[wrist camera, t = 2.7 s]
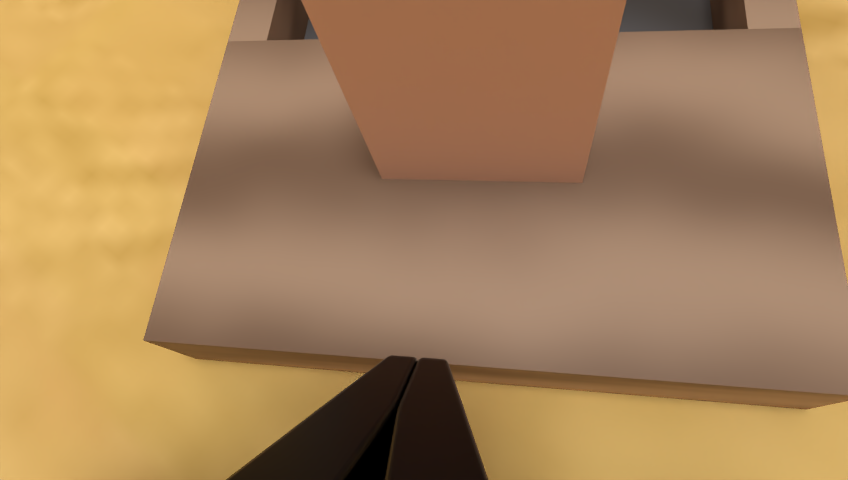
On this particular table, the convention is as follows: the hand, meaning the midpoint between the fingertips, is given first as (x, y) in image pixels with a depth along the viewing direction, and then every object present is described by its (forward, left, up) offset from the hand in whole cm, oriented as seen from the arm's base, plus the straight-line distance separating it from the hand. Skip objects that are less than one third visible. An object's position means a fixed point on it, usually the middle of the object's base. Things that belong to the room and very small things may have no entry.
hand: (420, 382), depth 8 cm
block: (+7, +8, -7) cm, 12 cm away
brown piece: (+9, +10, -10) cm, 17 cm away
